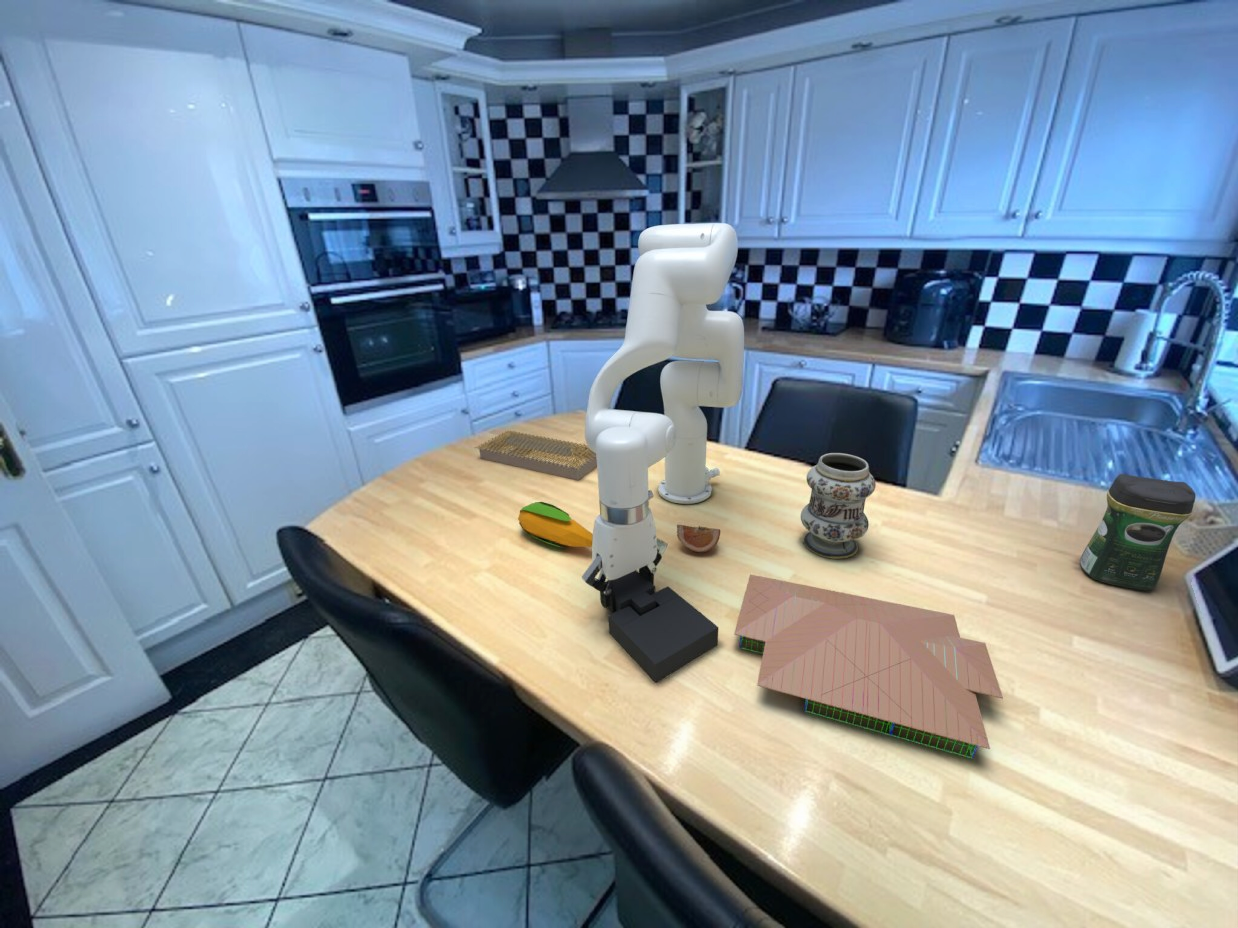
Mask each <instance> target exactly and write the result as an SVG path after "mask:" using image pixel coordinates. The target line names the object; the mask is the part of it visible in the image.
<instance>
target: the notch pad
mask: <svg viewBox="0 0 1238 928" xmlns="http://www.w3.org/2000/svg"><path fill="white" fill-rule="evenodd" d="M650 596H652V597H653V598H654V599H655V600H656V608H655V609H653V610H651V611H649V612H647V613H645V614H643V615H641V616H639V615H638V614H637V613H636V612H635V611H634V610H633V609H632V608H631V607H630V606H627V607H625V608H623V609H621V610H619V611H617V612H615V613H611V614H610V615H607V617H608V619H607V620H608V633H609V634H610V636H611V637H613V639H614V640H615V641H616V642H617V643H618V644H619V645H620V646H621V647H622V648H623V649H624V650H625V652H627V654H628V655H629V656H630V657H631V658H632V659H633V660H634V661H635V662H636V663H637V664H638V665H639V667H640V668H641V669H642V670H643V671H644V672H645V673H646V675H648V676H649V677H650V678H651V679H652V680H653V682H654V683H658V682H659V681H661V680H662V679H664V678H666V677H667V676H669V675H671V674H672V673H674V672H676V671H678V670H679V669H680V668H683V667H684V666H685V665H687V664H688V663H690V662H692V661H693V660H695V659H697V658H698V657H700V656H701V655H703V654H705V653H706V652H708V651H710V650H712V649H713V648H715V647H716V646H718V644H719V626H718V625H716V624H715V623H714V622H713V621H712V620H711V619H709V618H708V617H707V616H705V615H704V614H703V613H702V612H701V611H699V610H698V609H697V608H696V607H694V606H693V605H692V604H690V602H688V601H687V600H686V599H684V598H683V597H682V596H681V595H680V594H678V593H677V592H676V591H674V590H673V589H672V588H671V587H670V586H668V585H667V586H665V587H662V588H660V589H659V590H657V591H655V593H653V594H651V595H650Z"/></svg>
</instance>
